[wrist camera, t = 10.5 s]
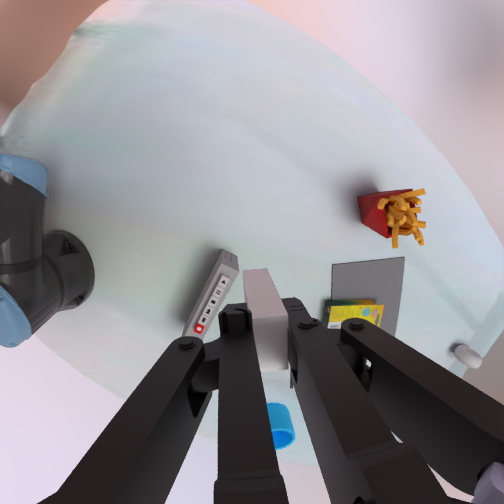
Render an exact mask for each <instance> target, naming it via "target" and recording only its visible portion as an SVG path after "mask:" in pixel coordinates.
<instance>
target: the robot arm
mask: <svg viewBox="0 0 504 504" xmlns="http://www.w3.org/2000/svg"><path fill="white" fill-rule="evenodd" d="M46 187H47V169H46V167H45V166H44V165H43V164H42V163H40V162H38V161H36V160H32V159H29V158H25V157H21V156H16V155H10V154H2V153H0V345H2V346H4V347H10V348H12V347H16V346H18V345H19V344H20V343H22V342H23V341H24V340H27V339H29V338H30V336H31V335H32V334H34V333H35V332H36V331H37V330H38V329H39V328H40V327H41V326H42V325H43V324H44V323H45V322H47V321H48V320H49V319H50V318H51V317H52V316H53V315H54V314H55V313H57V312H58V311H64V310H69V309H73V308H76V307H78V306H79V305H81V304H82V303H83V302H84V301H85V300H86V299H87V298H88V297H89V296H90V294H91V292H92V289H93V286H94V267H93V263H92V260H91V257H90V255H89V253H88V251H87V249H86V247H85V246H84V245H83V243H82V242H81V241H80V240H79V239H78V238H76V237H75V236H74V235H72V234H70V233H68V232H64V231H55V232H52V233H49V234H46V235H44V217H45V202H46V198H47V193H46ZM242 271H243V284H244V297H245V303H238V304H227V305H226V306H225V307H224V308H223V310H222V311H221V312H220V313H219V314H218V318H219V326H220V337H219V338H218V339H216V340H214V341H212V342H209V343H205V344H203V341H202V339H200V338H198V337H194V336H184V337H180V338H178V339H176V340H174V341H173V342H172V343H171V344H170V345H169V346H168V348H167V349H166V350H165V351H164V353H163V354H162V355H161V357H160V358H159V359H158V360H157V362H156V363H155V364H154V366H153V367H152V368H151V369H150V371H149V372H148V373H147V375H146V376H145V377H144V378H143V380H142V381H141V382H140V384H139V385H138V386H137V388H136V389H135V390H134V391H133V393H132V394H131V395H130V397H129V398H128V399H127V400H126V402H125V403H124V404H123V406H122V407H121V409H120V410H119V411H118V412H117V413H116V415H115V416H114V417H113V419H112V420H111V421H110V423H109V424H108V425H107V427H106V428H105V429H104V431H103V432H102V433H101V435H100V436H99V437H98V438H97V440H96V441H95V442H94V444H93V445H92V446H91V448H90V449H89V450H88V451H87V453H86V454H85V455H84V457H83V458H82V459H81V461H80V462H79V463H78V465H77V466H76V467H75V469H74V470H73V471H72V473H71V474H70V475H69V476H68V478H67V479H66V480H65V482H64V483H63V484H62V486H61V487H60V488H59V490H58V491H57V492H56V493H54V494H53V495H51V496H49V497H47V498H46V499H44V500H42V501H41V502H39V503H37V504H164V503H165V501H166V499H167V497H168V495H169V492H170V490H171V488H172V486H173V484H174V481H175V479H176V477H177V475H178V473H179V470H180V468H181V466H182V463H183V461H184V459H185V457H186V454H187V452H188V450H189V448H190V445H191V443H192V441H193V439H194V436H195V434H196V432H197V429H198V427H199V425H200V422H201V420H202V418H203V415H204V413H205V411H206V409H207V406H208V404H209V401H210V399H211V397H212V391H213V390H217V389H219V394H218V478H217V480H216V481H215V483H214V504H289V501H288V497H287V492H286V488H285V483H284V479H283V477H282V475H281V474H280V471H279V466H278V461H277V456H276V451H275V446H274V440H273V435H272V430H271V425H270V420H269V414H268V409H267V404H266V398H265V393H264V388H263V382H262V377H261V372H269V371H278V370H286V369H288V360H289V363H290V366H291V371H290V389H291V388H293V385H294V388H295V392H296V395H297V398H298V401H299V404H300V407H301V410H302V413H303V416H304V420H305V423H306V426H307V429H308V432H309V435H310V438H311V441H312V445H313V448H314V451H315V454H316V457H317V460H318V463H319V466H320V469H321V473H322V476H323V479H324V482H325V485H326V488H327V491H328V494H329V497H330V501H331V504H504V405H502V404H501V403H499V402H498V401H496V400H495V399H493V398H491V397H490V396H488V395H487V394H485V393H483V392H482V391H480V390H478V389H477V388H475V387H474V386H472V385H471V384H469V383H467V382H466V381H464V380H463V379H461V378H459V377H458V376H456V375H455V374H453V373H451V372H450V371H448V370H447V369H445V368H443V367H442V366H440V365H439V364H437V363H435V362H434V361H432V360H431V359H429V358H427V357H426V356H424V355H423V354H421V353H419V352H418V351H416V350H415V349H413V348H411V347H410V346H408V345H406V344H405V343H403V342H402V341H400V340H398V339H397V338H395V337H394V336H392V335H390V334H389V333H387V332H386V331H384V330H382V329H381V328H379V327H377V326H376V325H374V324H373V323H371V322H369V321H368V320H365V319H362V318H357V317H356V318H355V317H354V318H349V319H346V320H344V321H343V322H342V323H341V329H331V328H325V327H324V326H323V324H322V322H320V321H319V320H318V319H315V318H311V316H310V315H309V313H308V311H307V310H306V308H305V307H304V305H303V303H302V302H301V300H299V299H297V298H295V297H293V298H284V299H281V298H280V296H279V294H278V292H277V289H276V287H275V285H274V283H273V281H272V278H271V276H270V274H269V272H268V270H267V268H265V269H253V270H242ZM367 359H368V360H369V361H370V362H371V367H369V366H367V365H366V362H367ZM390 430H391V431H392V432H393V433H394V434H395V435H396V436H397V437H398V438H399V439H400V440H401V441H403V443H399V442H398V441H397V440H396V439H395V437H394V436H393V434H392V433H391V431H390ZM427 464H428V465H429V466H430V467H431V468H432V469H433V470H435V471H436V472H437V473H438V474H439V475H440V476H441V477H442V478H444V479H445V480H446V481H447V482H449V483H450V484H451V485H452V486H454V487H455V488H457V489H459V490H461V491H462V492H464V493H467V494H469V495H472V496H474V498H473V500H472V502H471V503H470V502H466V501H462V500H458V499H455V498H451V497H448V496H447V495H446V493H445V492H444V490H443V488H442V487H441V485H440V483H439V482H438V480H437V479H436V478H435V476H434V474H433V472H432V471H431V469H430V468H429V466H428V465H427Z"/></svg>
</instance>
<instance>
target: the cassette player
mask: <svg viewBox="0 0 504 504" xmlns="http://www.w3.org/2000/svg"><path fill="white" fill-rule="evenodd" d="M238 273H239V267H238V259H237V256H236V255H234V254H232V253H230V252H228V251H226V250H224V249H222V251H221V253H220V255H219V257H218V259H217V261H216V263H215V265H214V267H213V269H212V271H211V273H210V275H209V277H208V279H207V281H206V283H205V285H204V287H203V289H202V291H201V293H200V295H199V297H198V299H197V301H196V303H195V305H194V307H193V309H192V311H191V313H190V315H189V317H188V319H187V321H186V323H185V326H184V330H183V333H182V337H184V336H194V337H198V338H200V339H202V340H203V338H204V336H205V334H206V332H207V331H208V329H209V327H210V325H211V323H212V321H213V319H214V317H215V316H216V314H217V312H218V310H219V308H220V306H221V304H222V303H223V301H224V299H225V297H226V295H227V293H228V291H229V289H230V288H231V286H232V284H233V282H234V280H235V278H236V276H237V275H238Z"/></svg>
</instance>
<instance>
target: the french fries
mask: <svg viewBox="0 0 504 504" xmlns="http://www.w3.org/2000/svg"><path fill="white" fill-rule="evenodd" d="M423 194H425V190H424V189H419V190H415V191H413V190H412V189H404V190H394V191H384V192H377V193H373V194H369V195H365V196H361V197H357V199H358V203H359V208H360V214H361V219H362V224H364V225H366V226H367V227H369V228H371V229H372V230H374V231H375V232H377V233H379V234H380V235H382V236H384V237H385V238H390V237H392V248H398V235H399V234H400V235H406V236H408V235H410V234H412V233H413V234H414V237H415V239H416V240H417V241H418V243H419V245H421V246H422V245H424V240H423V236H422V233H421V231H420V230H419V229H418V227H420V228H425V226H426V222H423V221H418V220H417V215H416V213H420V212H421V209H420V207H415V204H416V205H417V206H418V205H420V204H421V200H420V199H419V198H417V197H415V196H419V195H423Z"/></svg>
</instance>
